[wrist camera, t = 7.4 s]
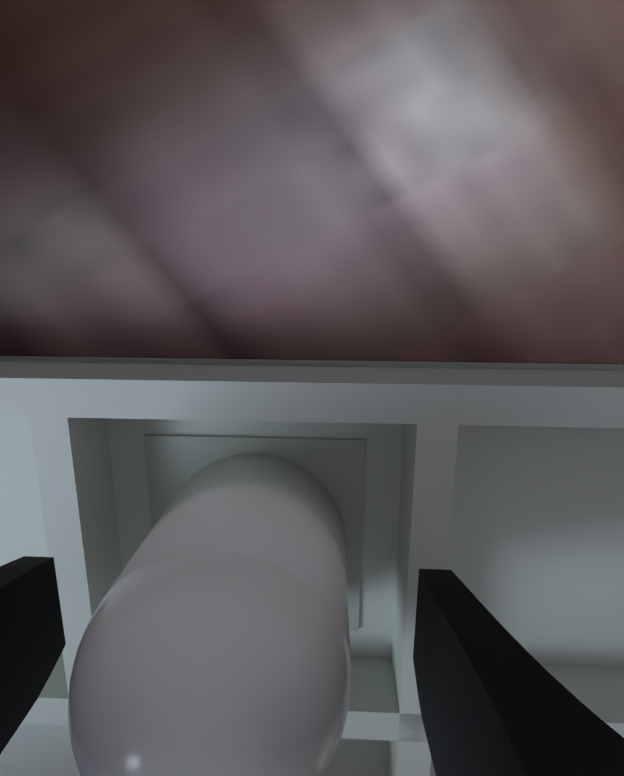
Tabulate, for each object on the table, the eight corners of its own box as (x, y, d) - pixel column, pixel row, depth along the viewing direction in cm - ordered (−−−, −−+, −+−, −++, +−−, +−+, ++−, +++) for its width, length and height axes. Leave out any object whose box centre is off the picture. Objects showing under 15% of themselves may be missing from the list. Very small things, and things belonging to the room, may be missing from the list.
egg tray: (650, 877, 15) (708, 989, 13) (-90, 834, 16) (-162, 930, 14) (774, 366, 11) (891, 391, 9) (-216, 352, 12) (-348, 372, 10)
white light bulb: (342, 617, 12) (353, 954, 6) (172, 611, 12) (20, 934, 6) (347, 455, 11) (365, 671, 5) (161, 452, 11) (-34, 654, 5)
